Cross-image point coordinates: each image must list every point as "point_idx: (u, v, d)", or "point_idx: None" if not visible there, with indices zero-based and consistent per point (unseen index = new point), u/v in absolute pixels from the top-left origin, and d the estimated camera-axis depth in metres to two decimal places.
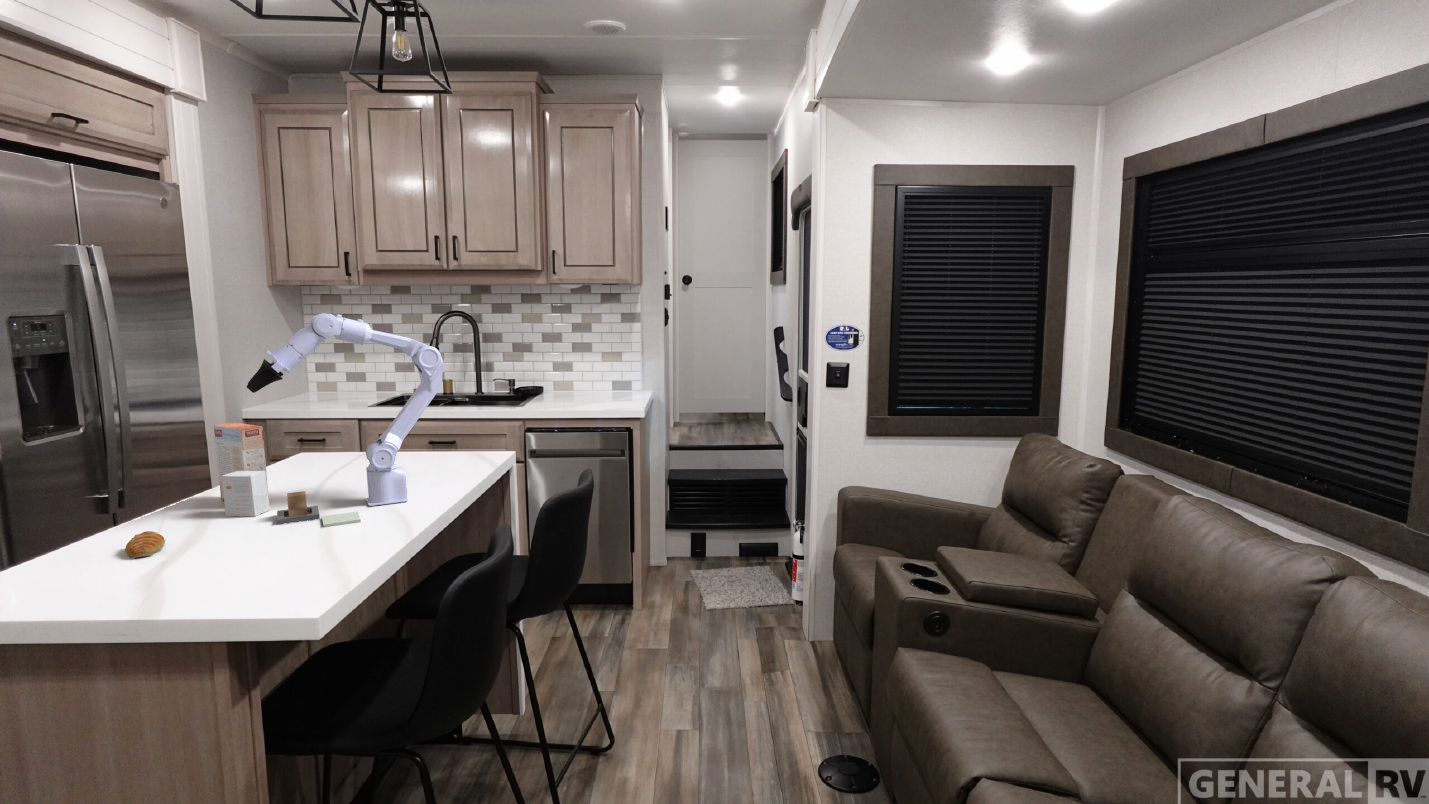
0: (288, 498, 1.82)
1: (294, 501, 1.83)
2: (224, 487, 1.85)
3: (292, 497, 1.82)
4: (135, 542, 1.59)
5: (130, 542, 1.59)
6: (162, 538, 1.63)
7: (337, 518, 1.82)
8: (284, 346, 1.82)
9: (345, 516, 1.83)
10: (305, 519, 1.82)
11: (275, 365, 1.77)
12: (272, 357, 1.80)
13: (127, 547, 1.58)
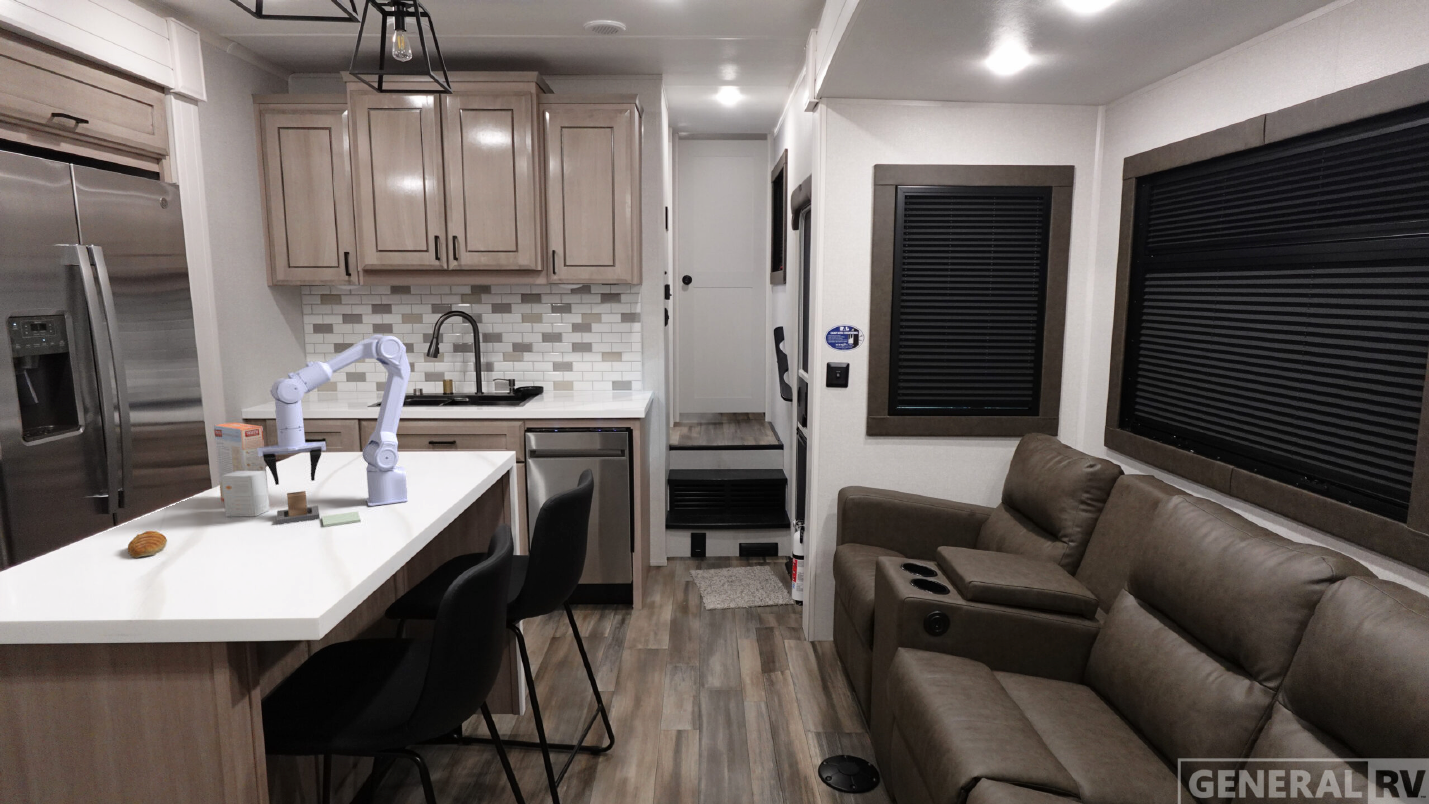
0: (288, 498, 1.82)
1: (294, 501, 1.83)
2: (224, 487, 1.85)
3: (292, 497, 1.82)
4: (137, 542, 1.59)
5: (132, 542, 1.59)
6: (164, 538, 1.64)
7: (337, 518, 1.82)
8: (298, 432, 1.81)
9: (345, 516, 1.83)
10: (305, 519, 1.82)
11: (325, 446, 1.86)
12: (305, 446, 1.82)
13: (129, 547, 1.58)
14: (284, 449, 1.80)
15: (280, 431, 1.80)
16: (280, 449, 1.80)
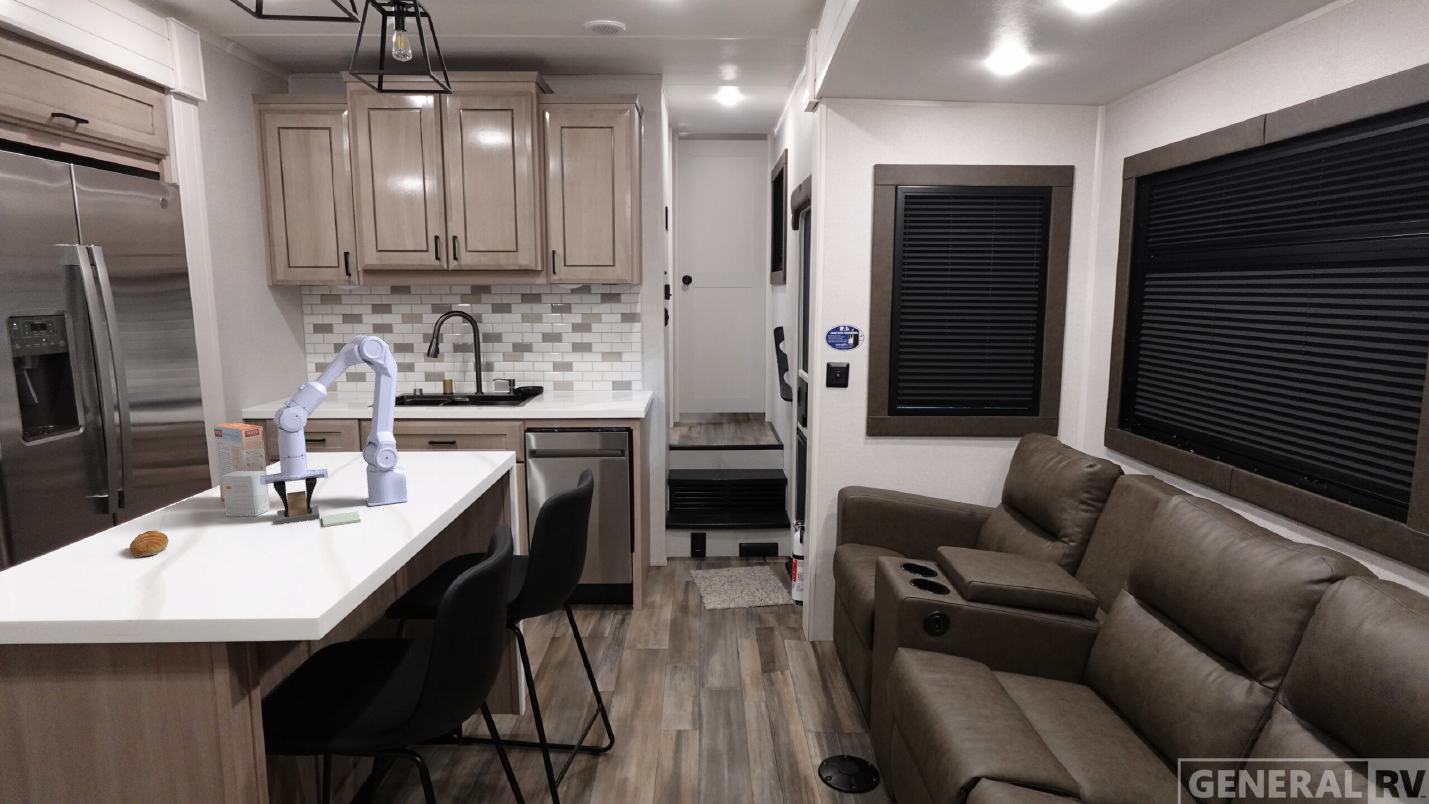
0: (288, 498, 1.82)
1: (294, 501, 1.83)
2: (224, 487, 1.85)
3: (292, 497, 1.82)
4: (139, 541, 1.59)
5: (134, 541, 1.59)
6: (166, 537, 1.64)
7: (337, 518, 1.82)
8: (301, 460, 1.82)
9: (345, 516, 1.83)
10: (305, 519, 1.82)
11: (327, 473, 1.87)
12: (308, 474, 1.83)
13: (131, 546, 1.59)
14: (287, 477, 1.81)
15: (283, 459, 1.81)
16: (283, 477, 1.81)
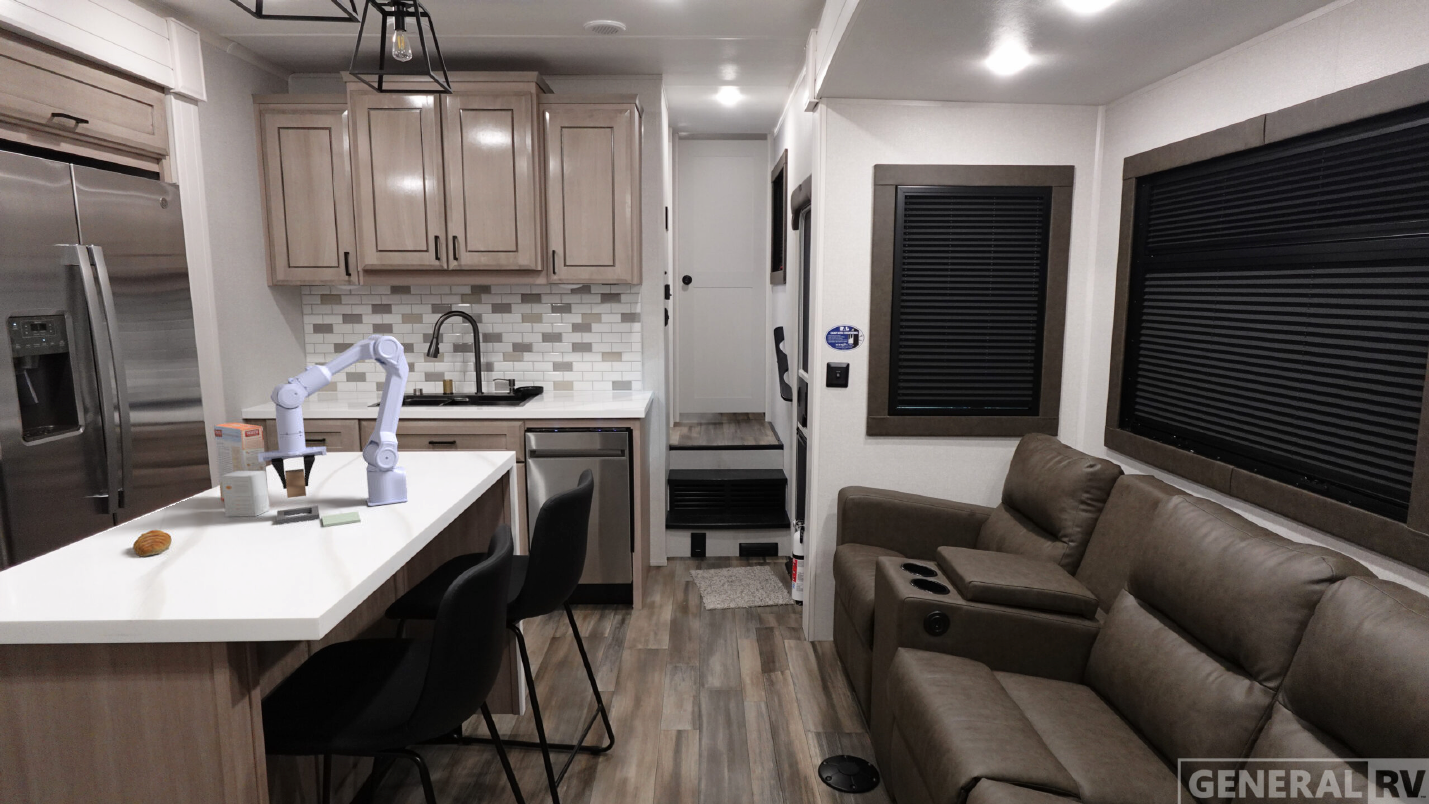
0: (286, 475, 1.81)
1: (292, 478, 1.82)
2: (224, 487, 1.85)
3: (290, 474, 1.82)
4: (144, 541, 1.60)
5: (138, 541, 1.60)
6: (169, 537, 1.64)
7: (337, 518, 1.82)
8: (299, 437, 1.81)
9: (345, 516, 1.83)
10: (305, 519, 1.82)
11: None
12: (306, 451, 1.83)
13: (135, 546, 1.59)
14: (285, 454, 1.80)
15: (281, 436, 1.80)
16: (281, 454, 1.80)
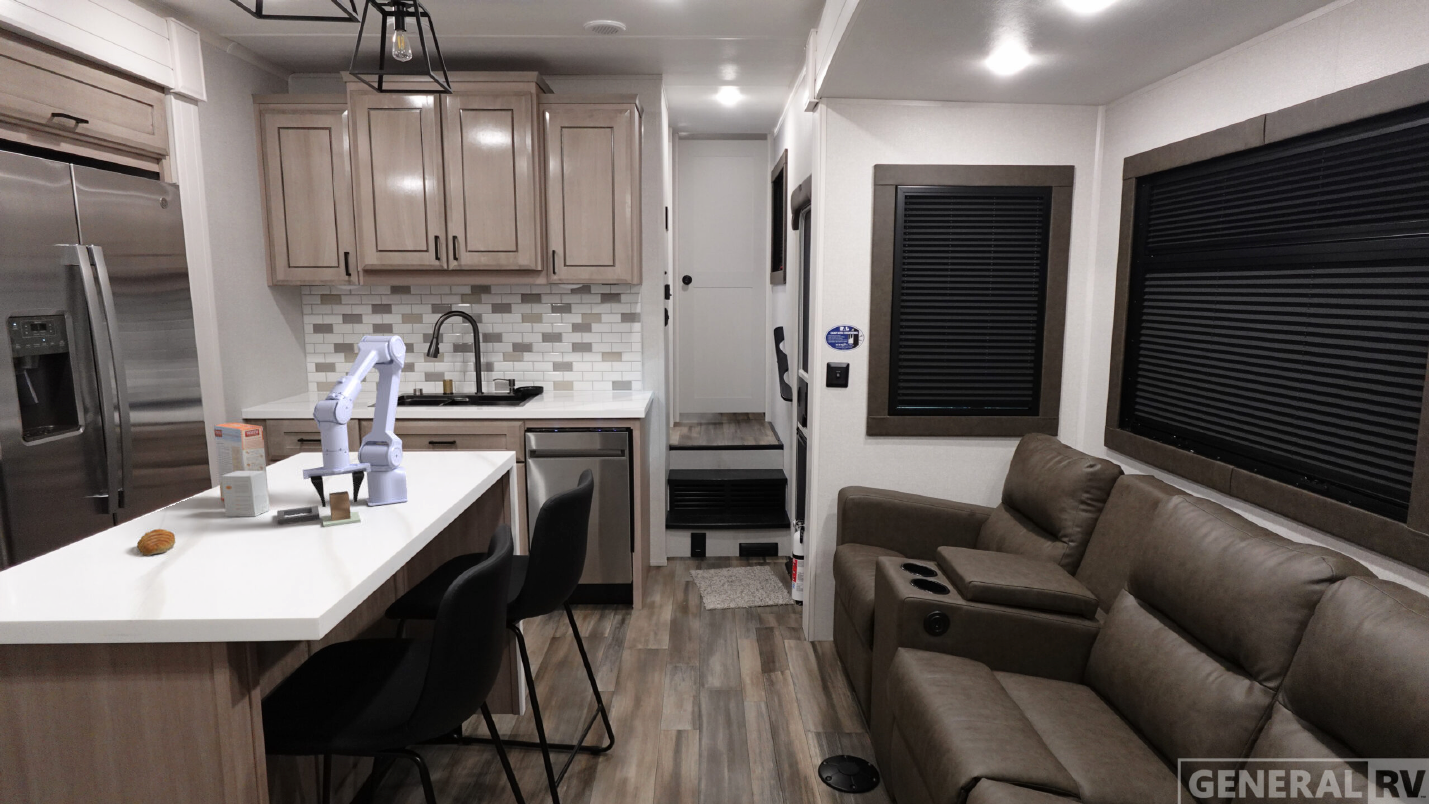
0: (331, 498, 1.79)
1: (337, 501, 1.80)
2: (224, 487, 1.85)
3: (335, 497, 1.79)
4: (148, 540, 1.60)
5: (142, 540, 1.60)
6: (173, 535, 1.65)
7: None
8: (344, 454, 1.79)
9: None
10: (305, 519, 1.82)
11: None
12: (351, 468, 1.80)
13: (140, 545, 1.60)
14: (330, 471, 1.78)
15: (326, 453, 1.77)
16: (326, 471, 1.77)
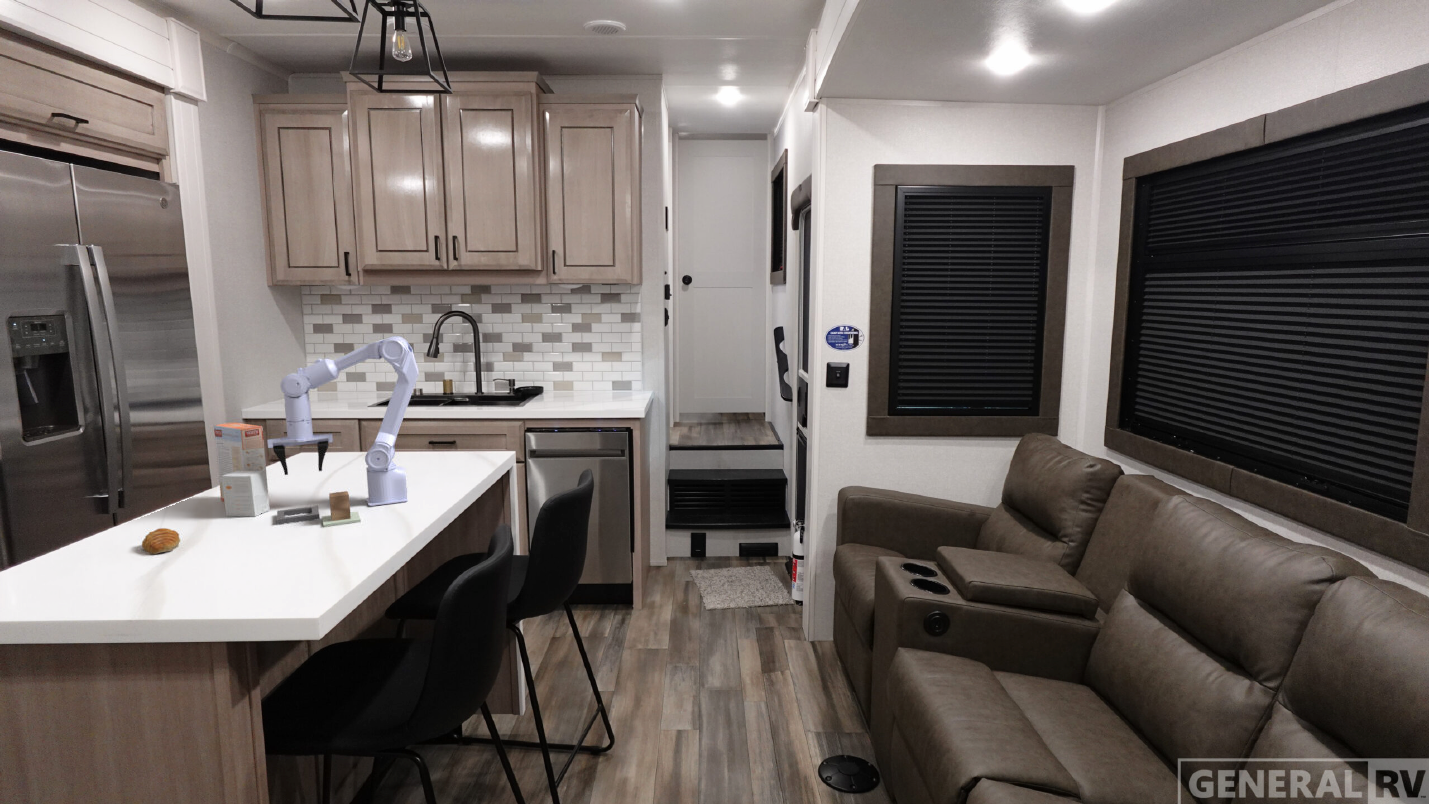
0: (331, 498, 1.79)
1: (337, 501, 1.80)
2: (224, 487, 1.85)
3: (335, 497, 1.79)
4: (154, 538, 1.61)
5: (148, 539, 1.61)
6: (177, 534, 1.66)
7: None
8: (307, 425, 1.89)
9: None
10: (305, 519, 1.82)
11: (332, 438, 1.94)
12: (313, 438, 1.91)
13: (145, 544, 1.60)
14: (293, 441, 1.88)
15: (289, 423, 1.88)
16: (289, 441, 1.88)
